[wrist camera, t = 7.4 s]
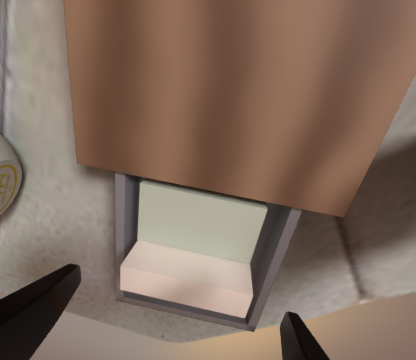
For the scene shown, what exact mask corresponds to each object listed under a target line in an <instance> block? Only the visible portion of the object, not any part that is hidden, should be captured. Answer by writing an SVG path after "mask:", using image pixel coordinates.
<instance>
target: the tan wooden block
mask: <svg viewBox="0 0 416 360" xmlns="http://www.w3.org/2000/svg"><path fill="white" fill-rule="evenodd" d="M64 10H65V22H66V34H67V47H68V59H69V71H70V83H71V96H72V108H73V120H74V132H75V145H76V157H77V164H81V165H86V166H91V167H96V168H101V169H106V170H111V171H116V172H121V173H125V174H130V175H135V176H140V177H145V178H150V179H155V180H160V181H165V182H170V183H175V184H180V185H185V186H190V187H195V188H200V189H205V190H210V191H215V192H219V193H224V194H229V195H234V196H239V197H244V198H249V199H254V200H259V201H264V202H269V203H274V204H279V205H284V206H289V207H294V208H299V209H304V210H309V211H314V212H318V213H323V214H328V215H333V216H338V217H343V218H344V217H345V215H346V213H347V211H348V209H349V207H350V205H351V203H352V201H353V199H354V197H355V195H356V193H357V191H358V189H359V187H360V185H361V183H362V181H363V179H364V177H365V175H366V173H367V171H368V169H369V167H370V164H371V162H372V160H373V158H374V156H375V154H376V152H377V150H378V148H379V146H380V144H381V142H382V140H383V138H384V136H385V134H386V132H387V130H388V128H389V126H390V124H391V122H392V120H393V118H394V116H395V114H396V112H397V110H398V108H399V106H400V104H401V102H402V100H403V98H404V96H405V94H406V92H407V90H408V88H409V86H410V84H411V82H412V80H413V78H414V76H415V74H416V0H64Z"/></svg>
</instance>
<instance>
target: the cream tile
mask: <svg viewBox="0 0 416 360" xmlns="http://www.w3.org/2000/svg"><path fill="white" fill-rule="evenodd" d="M120 290H124V291H128V292H132V293H137V294H141V295H145V296H150V297H154V298H159V299H163V300H167V301H172V302H176V303H180V304H185V305H189V306H193V307H198V308H202V309H206V310H211V311H215V312H219V313H224V314H228V315H232V316H237V317H241V318H245V317H246V314H247V311H248V309H249V306H250V303H251V300H252V298H253V289H252V280H251V270H250V264H247V263H242V262H238V261H233V260H229V259H224V258H220V257H215V256H210V255H206V254H201V253H197V252H192V251H188V250H183V249H178V248H174V247H169V246H165V245H160V244H156V243H151V242H146V241H142V240H138V241H137V242H136V244H135V245H134V247H133V248H132V250H131V251H130V253H129V254H128V256H127V257H126V258H125V260H124V261H123V263H122V264H121V266H120Z"/></svg>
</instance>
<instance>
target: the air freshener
mask: <svg viewBox="0 0 416 360" xmlns="http://www.w3.org/2000/svg"><path fill="white" fill-rule="evenodd" d="M21 180H22V170H21V165H20V163H19V160H18V158H17V156H16V154H15V152H14V150H13V149H12V147H11V146H10V144H9V143H8V142H7V140H6V139H5V138H4V137H3V136H2V135H1V134H0V215H1V214H2V213H3V212H4V211H5V210H6V209H7V208H8V207H9V205H10V204H11V203H12V201H13V200H14V198H15V197H16V195H17V193H18V190H19V188H20V185H21Z"/></svg>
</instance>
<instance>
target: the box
mask: <svg viewBox="0 0 416 360" xmlns="http://www.w3.org/2000/svg"><path fill="white" fill-rule="evenodd" d="M144 179H145V177H140V176H135V175H130V174H125V173H121V172H116V171H115V245H116V301H121V302H125V303H130V304H134V305H138V306H143V307H147V308H151V309H156V310H160V311H164V312H169V313H173V314H178V315H182V316H186V317H191V318H195V319H199V320H204V321H208V322H212V323H217V324H221V325H225V326H230V327H234V328H239V329H243V330H247V331H252V332H254V331H255V328H256V326H257V323H258V321H259V318H260V316H261V313H262V311H263V308H264V306H265V303H266V301H267V298H268V296H269V293H270V291H271V288H272V286H273V283H274V281H275V278H276V276H277V273H278V271H279V268H280V266H281V263H282V261H283V258H284V256H285V253H286V251H287V248H288V246H289V243H290V241H291V238H292V235H293V233H294V230H295V228H296V225H297V223H298V220H299V218H300V215H301V213H302V210H303V209H299V208H294V207H289V206H284V205H279V204H274V203H269V202H265V203H266V206H267V209H268V210H267V213H266V216H265V219H264V222H263V225H262V228H261V231H260V234H259V237H258V240H257V243H256V246H255V249H254V252H253V255H252V258H251V262H250V270H251V280H252V289H253V298H252V300H251V303H250V306H249V309H248V311H247V314H246V317H245V318H241V317H237V316H232V315H228V314H224V313H219V312H215V311H211V310H206V309H202V308H198V307H193V306H189V305H185V304H180V303H176V302H172V301H167V300H163V299H159V298H154V297H150V296H145V295H141V294H137V293H132V292H128V291H124V290H120V266H121V264H122V263H123V261H124V260H125V258H126V257H127V256H128V254H129V253H130V251H131V250H132V248H133V247H134V245H135V244H136V242H137V241H138V240H137V235H138V214H139V193H140V182H142V181H143V180H144Z"/></svg>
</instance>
